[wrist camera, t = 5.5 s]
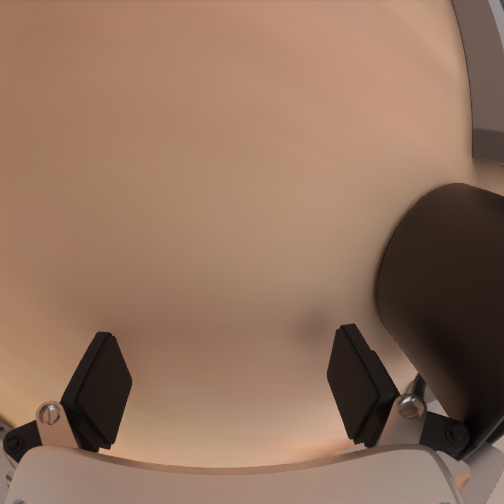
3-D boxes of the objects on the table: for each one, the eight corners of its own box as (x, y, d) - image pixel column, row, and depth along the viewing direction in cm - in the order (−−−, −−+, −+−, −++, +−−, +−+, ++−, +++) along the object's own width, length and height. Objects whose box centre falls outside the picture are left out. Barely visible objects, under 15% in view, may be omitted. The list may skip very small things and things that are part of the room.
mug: (323, 366, 14) (378, 511, 5) (417, 149, 10) (602, 199, 1) (428, 367, 15) (487, 454, 7) (504, 215, 12) (604, 272, 3)
